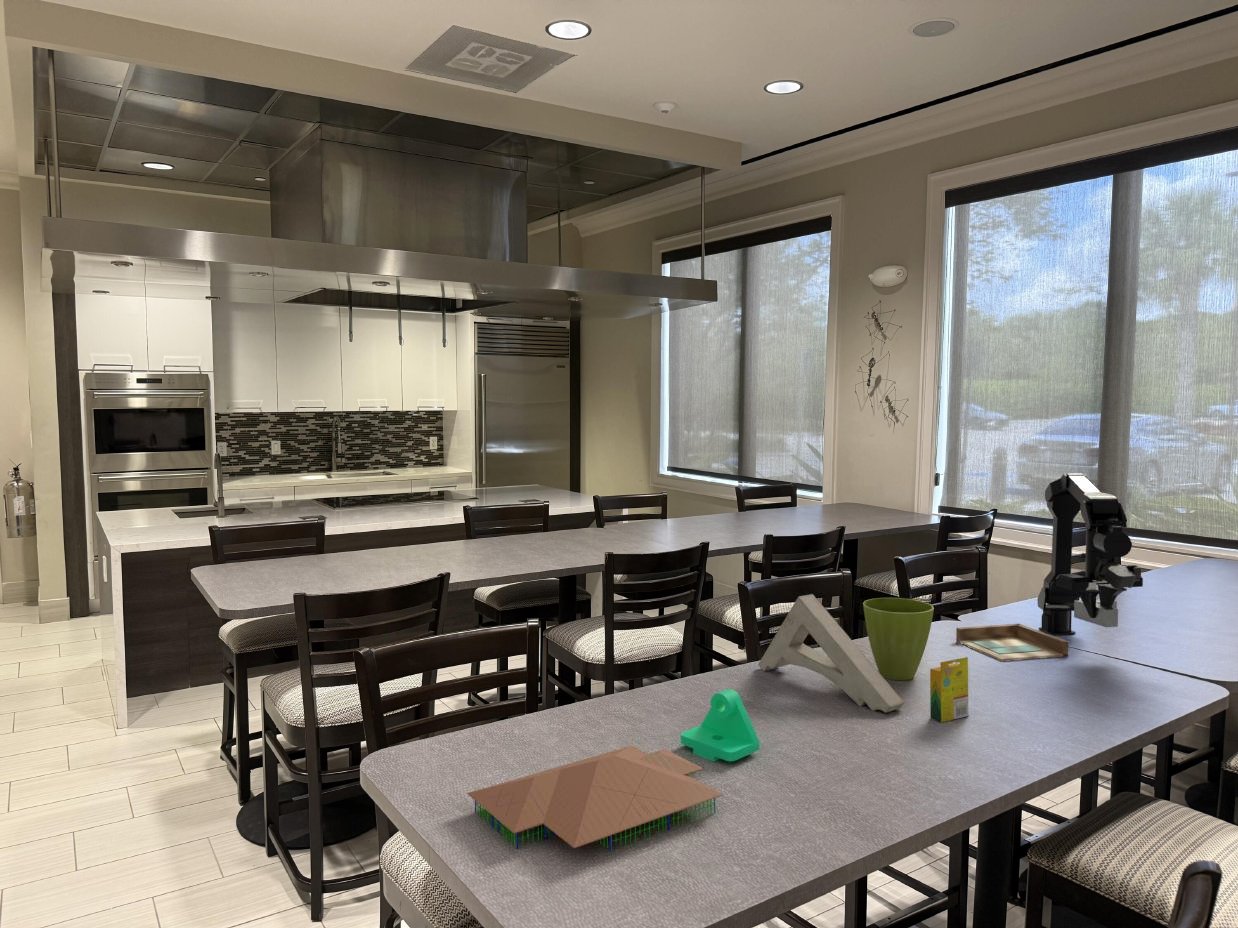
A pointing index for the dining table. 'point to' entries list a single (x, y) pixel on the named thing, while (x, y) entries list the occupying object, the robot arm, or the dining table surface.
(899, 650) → the flower pot
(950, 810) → the dining table surface
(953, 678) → the crayon box
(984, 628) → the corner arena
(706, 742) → the camera mount
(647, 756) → the house
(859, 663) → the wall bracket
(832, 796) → the dining table surface
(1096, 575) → the robot arm
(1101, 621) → the angle bracket
